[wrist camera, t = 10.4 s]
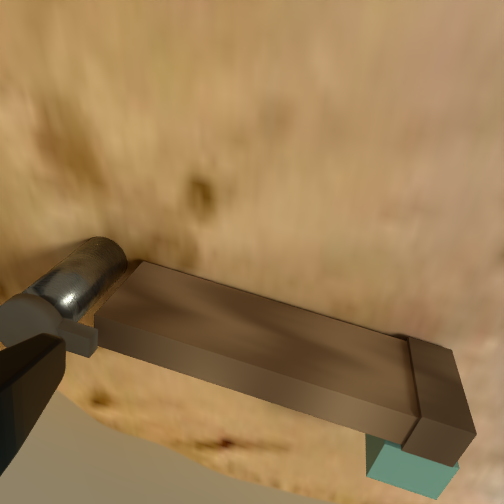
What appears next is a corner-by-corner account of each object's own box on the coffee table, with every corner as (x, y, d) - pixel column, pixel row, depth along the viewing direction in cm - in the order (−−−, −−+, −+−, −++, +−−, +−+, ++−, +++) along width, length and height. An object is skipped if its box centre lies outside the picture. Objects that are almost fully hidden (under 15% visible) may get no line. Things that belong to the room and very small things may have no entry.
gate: (77, 274, 22) (-6, 347, 17) (78, 231, 21) (-12, 296, 16) (430, 384, 21) (455, 501, 16) (454, 345, 19) (489, 458, 14)
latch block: (364, 396, 22) (366, 476, 18) (379, 365, 21) (384, 443, 17) (421, 414, 22) (436, 499, 18) (439, 384, 21) (459, 468, 17)
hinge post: (82, 271, 22) (20, 325, 18) (83, 231, 21) (17, 280, 17) (125, 284, 22) (72, 342, 18) (128, 244, 21) (72, 297, 17)
